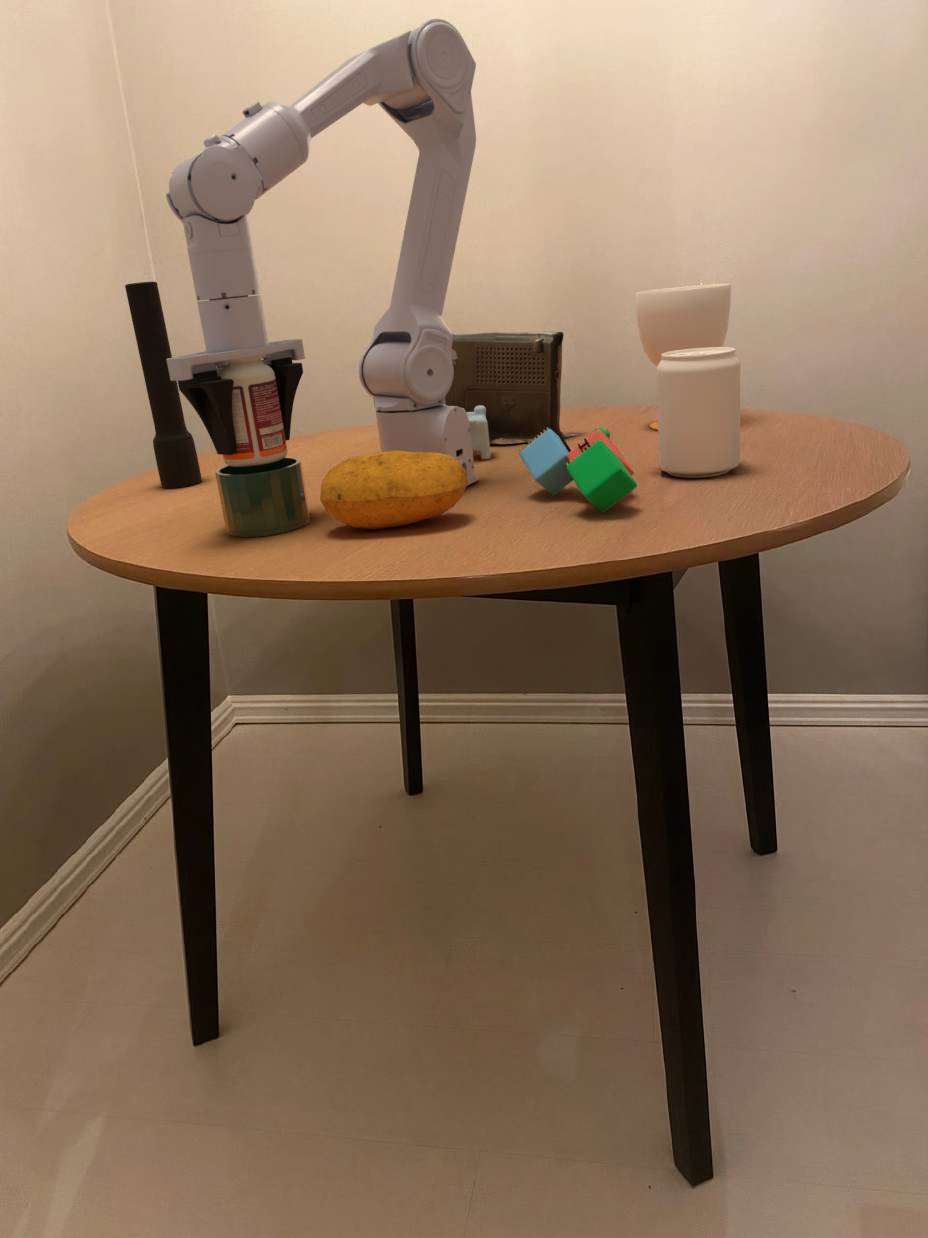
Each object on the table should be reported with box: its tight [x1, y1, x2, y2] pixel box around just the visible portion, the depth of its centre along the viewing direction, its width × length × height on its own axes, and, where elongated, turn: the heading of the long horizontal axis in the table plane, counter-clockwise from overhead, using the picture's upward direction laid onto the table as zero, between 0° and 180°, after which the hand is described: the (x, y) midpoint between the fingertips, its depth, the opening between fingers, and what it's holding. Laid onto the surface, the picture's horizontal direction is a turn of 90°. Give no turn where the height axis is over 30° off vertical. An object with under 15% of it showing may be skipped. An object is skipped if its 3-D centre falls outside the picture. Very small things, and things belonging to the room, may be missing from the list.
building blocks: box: [518, 426, 638, 513], centre depth 89 cm, size 8×8×12 cm
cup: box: [634, 283, 732, 431], centre depth 121 cm, size 12×12×17 cm
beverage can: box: [656, 346, 741, 479], centre depth 95 cm, size 8×8×12 cm
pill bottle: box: [216, 355, 288, 467], centre depth 89 cm, size 6×6×11 cm
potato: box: [319, 450, 468, 530], centre depth 87 cm, size 8×14×7 cm, turn 89°
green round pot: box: [214, 456, 311, 538], centre depth 92 cm, size 8×8×6 cm
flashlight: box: [124, 281, 203, 489], centre depth 115 cm, size 5×24×5 cm
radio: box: [445, 330, 579, 445], centre depth 124 cm, size 23×9×15 cm, turn 60°
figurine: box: [462, 406, 491, 460], centre depth 116 cm, size 4×8×6 cm, turn 4°
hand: (254, 446), depth 90 cm, fingers closed on pill bottle, 6 cm apart
